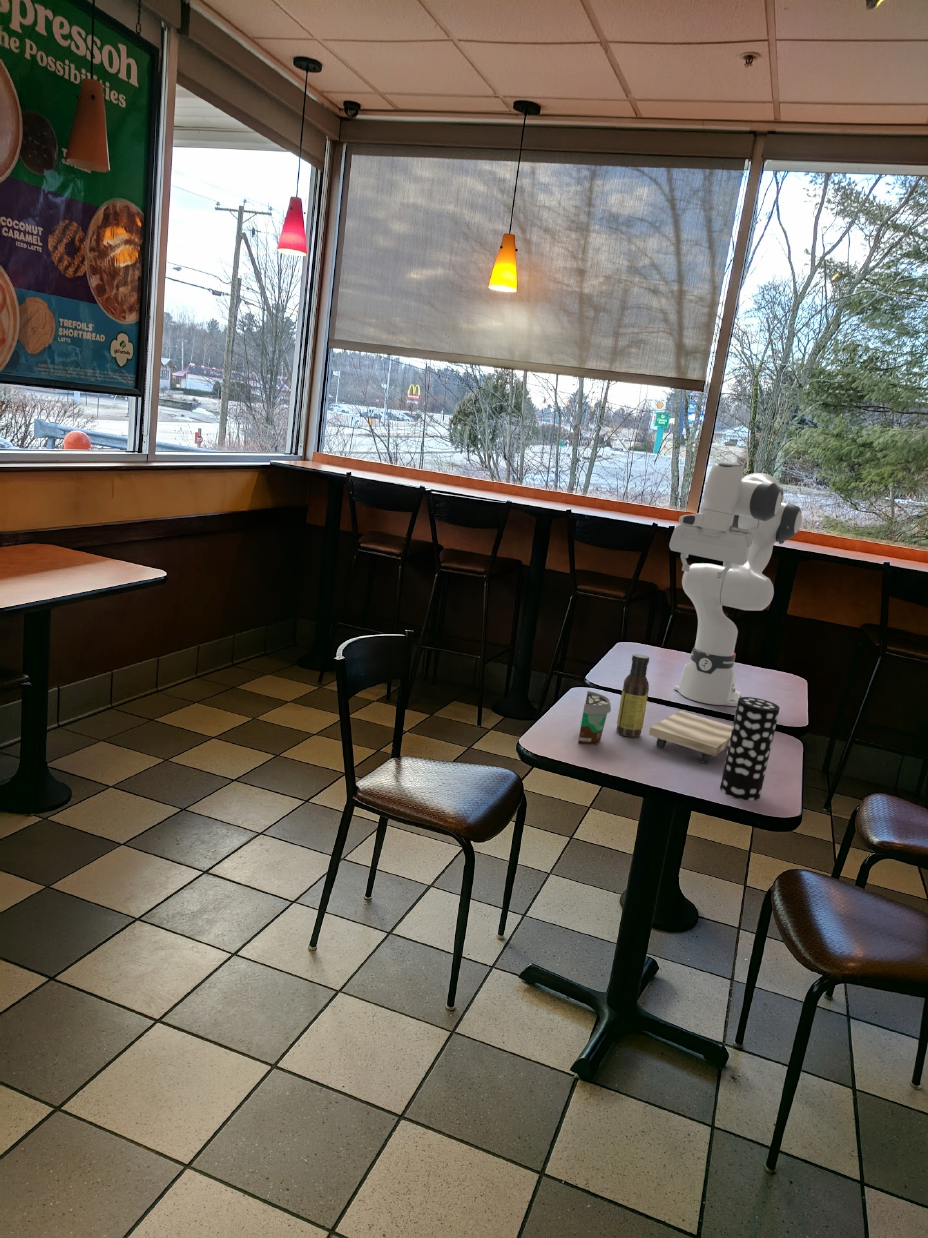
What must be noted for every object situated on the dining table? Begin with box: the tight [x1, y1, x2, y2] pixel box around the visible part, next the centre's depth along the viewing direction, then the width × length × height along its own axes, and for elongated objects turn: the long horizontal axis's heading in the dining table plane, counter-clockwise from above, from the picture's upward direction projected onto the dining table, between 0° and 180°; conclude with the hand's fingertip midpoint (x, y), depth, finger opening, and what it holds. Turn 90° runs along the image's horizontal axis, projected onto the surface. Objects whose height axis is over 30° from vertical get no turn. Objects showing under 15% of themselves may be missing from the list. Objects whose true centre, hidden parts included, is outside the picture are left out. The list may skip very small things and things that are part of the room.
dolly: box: [648, 710, 733, 764], centre depth 209 cm, size 20×16×5 cm
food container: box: [577, 690, 612, 746], centre depth 204 cm, size 12×6×10 cm, turn 168°
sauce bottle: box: [616, 653, 650, 738], centre depth 211 cm, size 6×6×20 cm
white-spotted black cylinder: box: [719, 696, 781, 802], centre depth 182 cm, size 8×8×20 cm
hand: (702, 575), depth 227 cm, fingers open, 8 cm apart
